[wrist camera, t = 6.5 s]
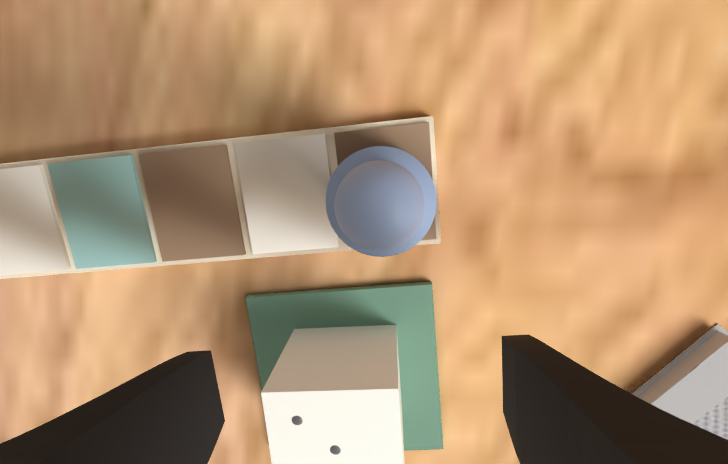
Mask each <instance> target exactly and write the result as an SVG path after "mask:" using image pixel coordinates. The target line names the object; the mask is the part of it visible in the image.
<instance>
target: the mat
mask: <svg viewBox="0 0 728 464" xmlns="http://www.w3.org/2000/svg"><path fill="white" fill-rule="evenodd" d="M245 299H246V304H247V310H248V316H249V321H250V327H251V332H252V338H253V344H254V349H255V355H256V360H257V366H258V371H259V377H260V383H261V388H262V390H263V388H264V386H265V384H266V382H267V380H268V378H269V376H270V375H271V373H272V371H273V369H274V367H275V365H276V363H277V361H278V359H279V357H280V355H281V353H282V352H283V350H284V348H285V346H286V344H287V342H288V340H289V338H290V336H291V334H292V332H293V330H294V329H304V328H327V327H351V326H375V325H396V327H397V342H398V357H399V372H400V388H401V403H402V420H403V443H404V450H430V449H443V438H442V423H441V409H440V394H439V379H438V365H437V350H436V335H435V321H434V306H433V291H432V283H431V281H430V282H416V283H402V284H389V285H375V286H361V287H348V288H334V289H320V290H307V291H293V292H279V293H266V294H252V295H248V296H247V297H246V298H245Z"/></svg>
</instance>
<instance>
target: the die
mask: <svg viewBox="0 0 728 464" xmlns="http://www.w3.org/2000/svg"><path fill="white" fill-rule="evenodd" d="M261 396H262V402H263V409H264V415H265V422H266V428H267V435H268V441H269V448H270V454H271V461H272V464H404V443H403V420H402V403H401V388H400V372H399V357H398V342H397V327H396V325H375V326H351V327H327V328H304V329H294V330H293V332H292V334H291V336H290V338H289V340H288V342H287V344H286V346H285V348H284V350H283V352H282V353H281V355H280V357H279V359H278V361H277V363H276V365H275V367H274V369H273V371H272V373H271V375H270V376H269V378H268V380H267V382H266V384H265V386H264V388H263V390H262V392H261Z"/></svg>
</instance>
